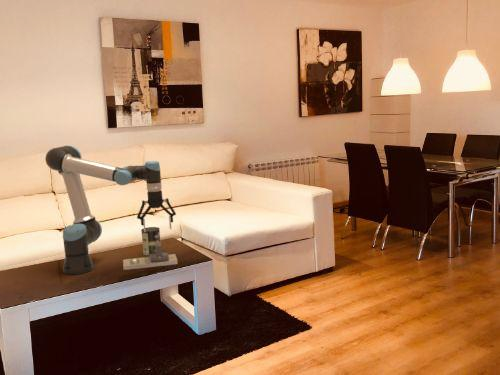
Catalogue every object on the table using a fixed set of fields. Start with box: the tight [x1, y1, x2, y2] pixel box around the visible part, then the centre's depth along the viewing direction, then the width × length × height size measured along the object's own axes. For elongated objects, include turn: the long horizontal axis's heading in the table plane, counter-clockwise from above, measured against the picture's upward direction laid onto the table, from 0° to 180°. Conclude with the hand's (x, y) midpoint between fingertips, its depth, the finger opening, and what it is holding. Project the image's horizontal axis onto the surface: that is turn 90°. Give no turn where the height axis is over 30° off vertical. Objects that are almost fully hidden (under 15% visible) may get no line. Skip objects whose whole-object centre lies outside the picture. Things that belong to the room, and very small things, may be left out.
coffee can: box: [140, 226, 161, 256], centre depth 291 cm, size 10×10×14 cm
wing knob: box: [149, 241, 170, 262], centre depth 273 cm, size 10×10×8 cm
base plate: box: [122, 253, 178, 271], centre depth 273 cm, size 28×12×3 cm, turn 104°
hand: (157, 229), depth 271 cm, fingers open, 13 cm apart
